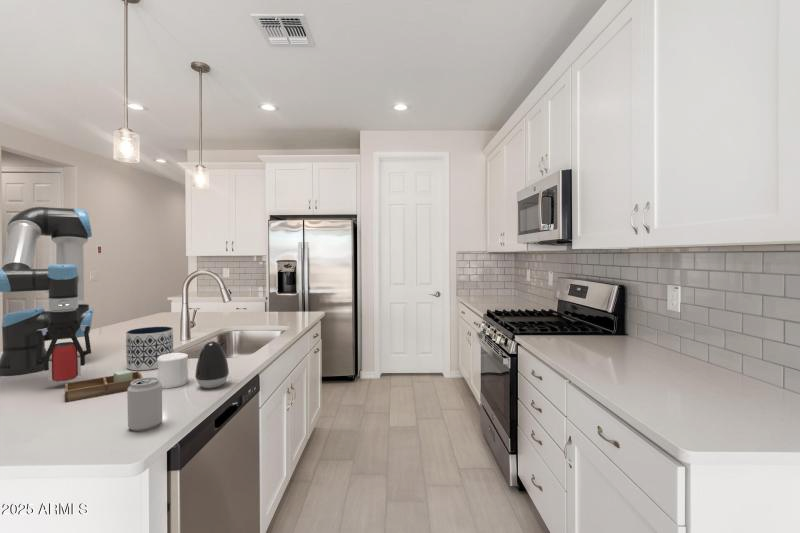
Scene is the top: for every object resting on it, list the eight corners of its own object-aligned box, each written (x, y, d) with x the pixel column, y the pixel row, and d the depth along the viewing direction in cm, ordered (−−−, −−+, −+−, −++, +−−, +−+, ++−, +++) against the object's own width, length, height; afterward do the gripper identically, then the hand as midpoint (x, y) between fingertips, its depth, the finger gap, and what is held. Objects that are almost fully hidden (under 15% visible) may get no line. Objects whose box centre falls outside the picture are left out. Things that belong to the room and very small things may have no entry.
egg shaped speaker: (235, 383, 133) (235, 339, 133) (209, 393, 124) (209, 346, 123) (215, 379, 137) (214, 337, 137) (188, 388, 128) (188, 343, 128)
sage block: (113, 384, 129) (113, 372, 128) (127, 381, 132) (127, 370, 132) (118, 387, 126) (118, 374, 126) (132, 383, 130) (132, 372, 129)
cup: (165, 390, 126) (165, 361, 125) (150, 385, 131) (149, 357, 131) (194, 382, 134) (193, 355, 134) (178, 378, 139) (178, 351, 139)
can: (139, 420, 103) (138, 375, 103) (168, 419, 104) (167, 375, 103) (121, 433, 96) (120, 385, 95) (152, 432, 96) (152, 384, 96)
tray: (65, 393, 123) (65, 383, 123) (139, 380, 136) (139, 371, 136) (65, 402, 116) (65, 391, 116) (143, 387, 129) (143, 378, 128)
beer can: (62, 382, 127) (61, 346, 126) (46, 381, 128) (46, 345, 127) (82, 376, 133) (82, 342, 133) (67, 374, 134) (66, 340, 134)
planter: (148, 359, 164) (148, 326, 164) (182, 360, 162) (181, 327, 162) (116, 370, 149) (115, 333, 148) (153, 372, 146) (152, 334, 146)
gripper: (22, 314, 120) (24, 386, 121) (101, 308, 133) (102, 374, 134) (24, 311, 126) (26, 380, 127) (99, 306, 139) (100, 369, 140)
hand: (65, 377), depth 130 cm, fingers closed on beer can, 7 cm apart
